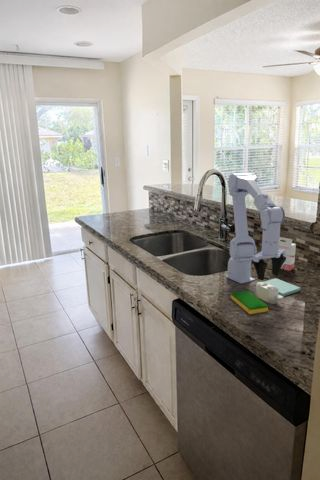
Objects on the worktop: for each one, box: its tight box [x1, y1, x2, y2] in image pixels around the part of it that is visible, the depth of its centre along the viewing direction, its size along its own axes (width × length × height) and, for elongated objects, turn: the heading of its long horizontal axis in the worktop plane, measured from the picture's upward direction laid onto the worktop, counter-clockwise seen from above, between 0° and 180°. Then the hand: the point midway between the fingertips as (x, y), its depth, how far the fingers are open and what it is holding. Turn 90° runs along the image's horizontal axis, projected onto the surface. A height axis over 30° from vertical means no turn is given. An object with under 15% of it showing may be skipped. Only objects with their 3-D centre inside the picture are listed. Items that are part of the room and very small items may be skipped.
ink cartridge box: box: [279, 236, 297, 272], centre depth 157 cm, size 9×5×15 cm, turn 47°
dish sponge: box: [230, 290, 269, 315], centre depth 124 cm, size 7×14×2 cm, turn 17°
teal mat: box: [263, 277, 301, 297], centre depth 137 cm, size 12×10×1 cm
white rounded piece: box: [255, 281, 285, 305], centre depth 126 cm, size 11×4×5 cm, turn 31°
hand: (268, 277), depth 125 cm, fingers open, 7 cm apart
